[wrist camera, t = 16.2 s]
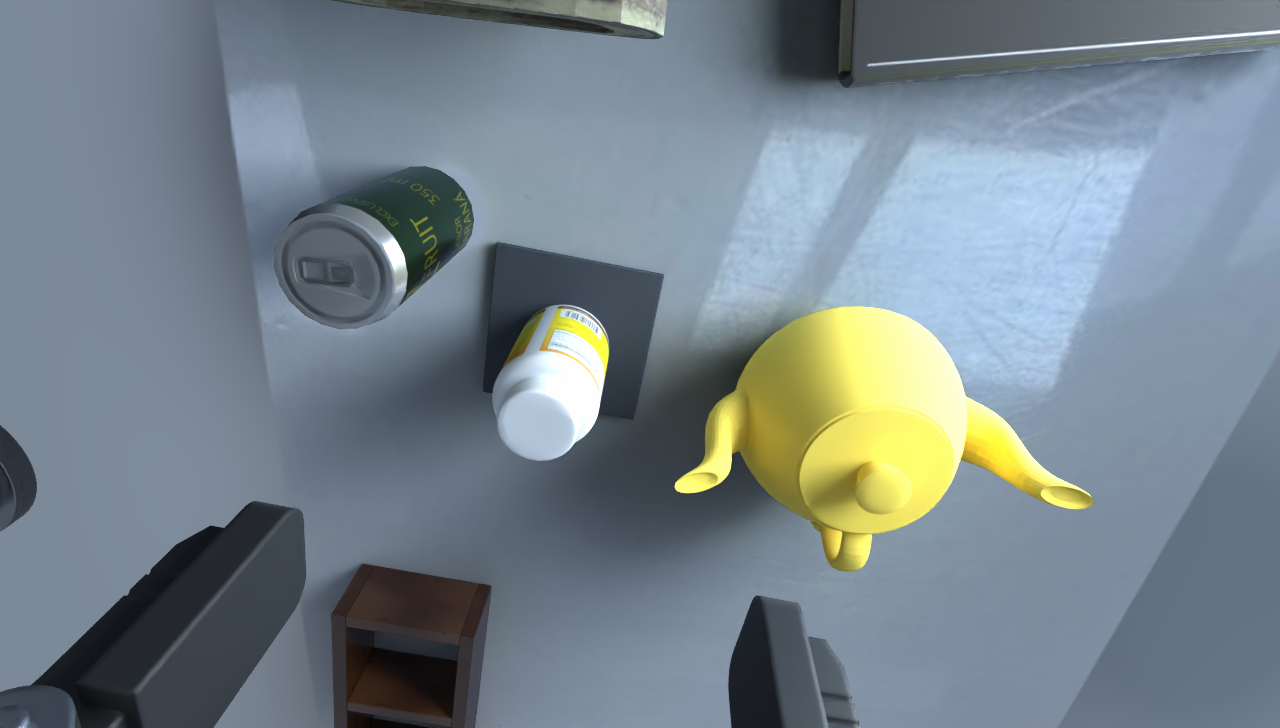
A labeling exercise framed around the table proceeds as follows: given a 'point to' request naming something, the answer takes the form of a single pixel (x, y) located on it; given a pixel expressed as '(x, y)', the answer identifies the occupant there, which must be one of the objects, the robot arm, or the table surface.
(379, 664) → the bottle rack
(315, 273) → the beer can
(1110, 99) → the table surface
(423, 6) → the tabletop clock
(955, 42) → the book
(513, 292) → the coaster
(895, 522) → the teapot
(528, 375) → the supplement bottle
